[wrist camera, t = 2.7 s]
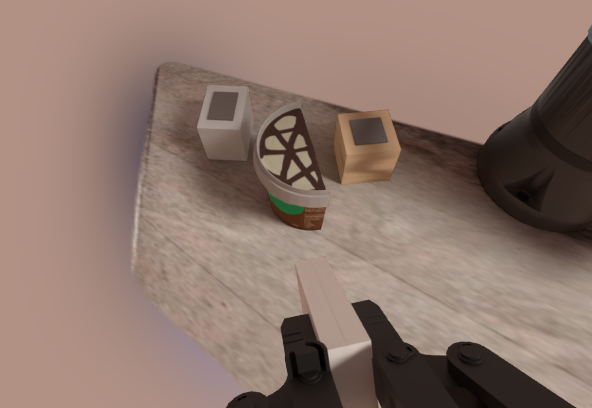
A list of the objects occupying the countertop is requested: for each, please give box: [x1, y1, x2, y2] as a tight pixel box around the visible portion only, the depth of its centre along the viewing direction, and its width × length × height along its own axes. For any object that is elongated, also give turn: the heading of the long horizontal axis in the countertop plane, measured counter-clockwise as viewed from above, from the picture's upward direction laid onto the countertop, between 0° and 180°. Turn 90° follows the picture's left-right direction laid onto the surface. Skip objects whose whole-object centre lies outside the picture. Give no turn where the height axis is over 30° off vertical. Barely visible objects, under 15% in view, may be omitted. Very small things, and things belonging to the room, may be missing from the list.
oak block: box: [333, 110, 401, 185], centre depth 42 cm, size 6×6×6 cm
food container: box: [253, 101, 330, 230], centre depth 38 cm, size 12×6×10 cm, turn 12°
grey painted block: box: [197, 85, 254, 161], centre depth 45 cm, size 5×7×6 cm
